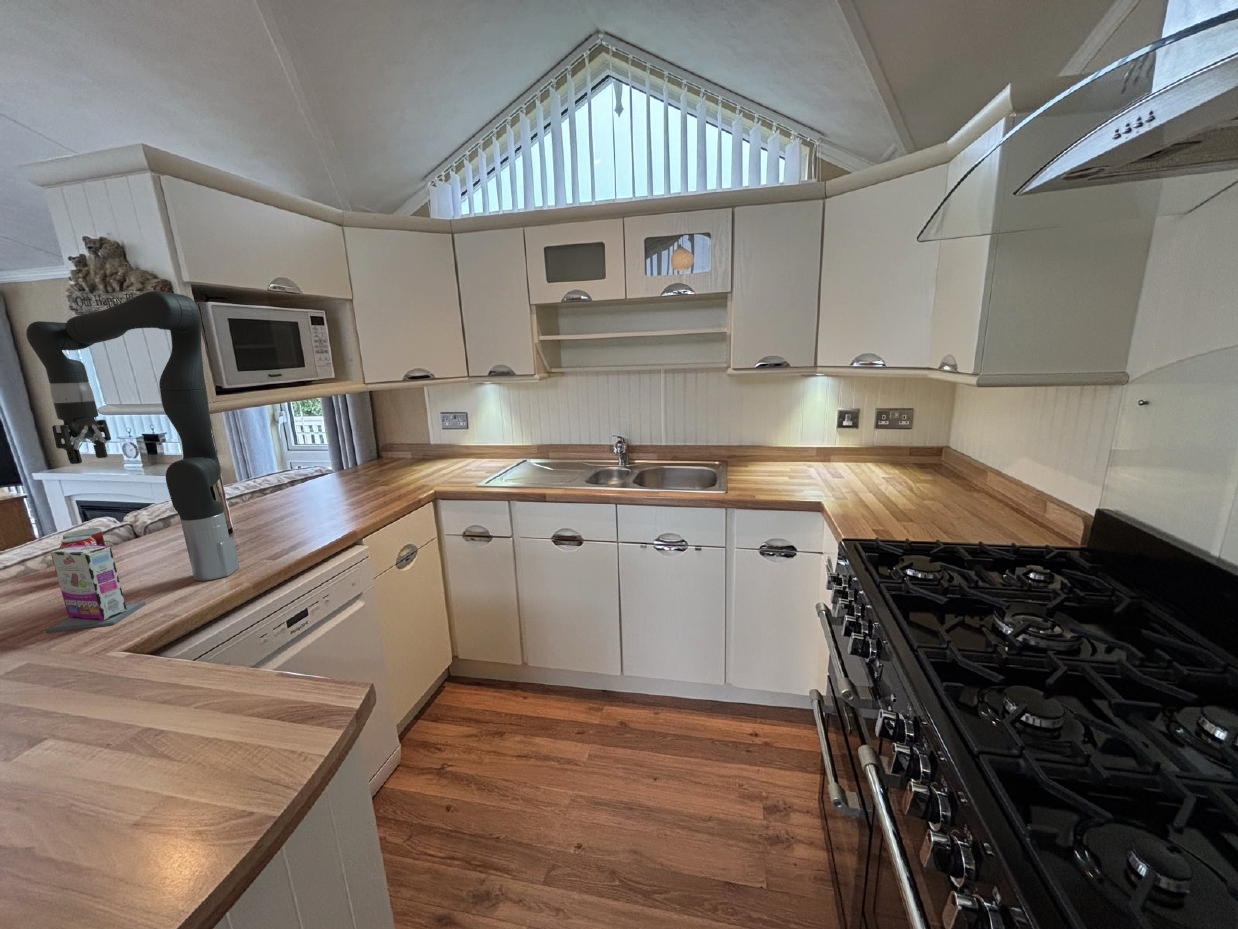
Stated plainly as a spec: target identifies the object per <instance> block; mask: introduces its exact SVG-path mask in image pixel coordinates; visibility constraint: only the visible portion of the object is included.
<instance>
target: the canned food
mask: <svg viewBox="0 0 1238 929" xmlns="http://www.w3.org/2000/svg"><path fill="white" fill-rule="evenodd" d="M79 535H91V537H92V538H93V539H95V540H96V543H97V546H106V543H105V539H104V535H103V531H102V530H101V528H100V527H92V528H91V527H90V528H83V529H79V530H77V529H76V530H75V531H74V530H73V531H70V532H67V533H64V534H63V535H62V540H63V539H66V538H69V537H74V536H79Z"/></svg>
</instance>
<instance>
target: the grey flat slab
mask: <svg viewBox="0 0 1238 929" xmlns="http://www.w3.org/2000/svg"><path fill="white" fill-rule="evenodd" d="M125 604H126V608H127V611H126V612H124V613H121V614H119V615H117V616H114V617H112V618H109V619H107V620H92V619H78V618H69V616H68V617H66V618H65V619H63V620H61V621H59V622H57V623H55V624H53V626H51V627H49V628H46V629H45V630H44V632H45V633H56V632H64V631H65V632H66V631H74V630H80V629H82V630H83V629H88V628H89V629H91V628H97V627H106V626H115V625H117V624H118V623H120V622H121V621H122V620H124V619H125V618H127V617H129V616H130V615H132V614H133V613H135V612H136V611H137V610H139V609H141V608H142V607H144V606H145V605H146V604H147V603H146V601H143V602H133V603H132V602H131V603H125Z"/></svg>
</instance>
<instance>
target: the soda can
mask: <svg viewBox="0 0 1238 929" xmlns="http://www.w3.org/2000/svg"><path fill="white" fill-rule="evenodd" d="M60 542H61V543H60V545H59V546H60V547H59V549H62V548H66V547H70V546H74V545H90V546H97V543H96V540H95V539H93V538H92V537H91V535H79V536H74V537H69V538H66V539H63V538H62V539H61V541H60Z"/></svg>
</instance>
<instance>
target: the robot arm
mask: <svg viewBox="0 0 1238 929" xmlns="http://www.w3.org/2000/svg"><path fill="white" fill-rule="evenodd" d="M201 318H202V316H201V312H200V308H199V306H198V305H197V303H196V301H194V300H193V299H192V298H191V297H190V296H188V295H184V294H179V293H172V292H166V291H160V290H149V291H146V292H144V293H141V294H139V295H137V296H134V297H132V298H130V299H128V300H126V301H123V302H122V303H119V304H117V305H113V306H111V307H108V308H105V309H102V310H98V311H97V310H96V311H93V312H89V313H83V314H79V315H75V316H73V317H71V318H69V319H68V320H67V321H66V322H60V321H59V322H58V321H43V320H42V321H41V320H39V321H34V322H30V324H29V325H28V327H27V328H26V331H25V332H26V334H25V335H26V338H27V341H28V343H29V346H30V347H31V348H32V350H33V352H35V354H36V356H37V357H38V359H39V361H40V362H41V363H42V365H43V366H44V368H45V371H46V375H47V378H48V382H49V388H50V396H51V399H52V403H53V407H54V410H55V414H56V418H57V419H58V420H59V421H63V424H56V425H55V424H54V425H53V424H52V426H51V429H52V432H53V438H54V443H55V446H56V449H58V450H59V449H62V450H64V451H65V452H66V456H67V459H68V462H69V463H70V464H71V465H76V464H77V465H78V464H82V463H83V460H82V456H81V453H80V449H79V447H80V443H82V442H83V441H84V439H87V440H89V441H90V442H92V444H93V449H94V454H95V457H96V458H97V459H105V458H108V451H107V447H106V444H107V442H110V441H112V437H111V434H110V430H109V427H108V424H107V423H108V422H107V421H106V419H95V418H97V417H99V412H98V407H97V404H96V400H95V396H94V395H95V394H94V391H93V389H92V387H91V385H90V382H89V377H88V376H89V375H88V374H87V369H86V367H85V364H84V363H83V362H82V361H80V360H77V359H71V358H69V357H68V356H66V354H65V353H64V352H63V351H79V350H84V349H87V348H89V347H91V346H93V345H94V344H97V343H103V342H107V341H111V340H115V339H118V338H120V337H122V336H123V335H125V334H126V333H127V332H128V331H131V330H135V329H158V330H165V331H169V332H170V338H171V353H170V356H169V358H168V361H167V362H166V365H165V367H164V368H163V370H162V373H161V375H160V377H159V382H158V383H159V384H158V387H159V392H160V399H161V400H160V401H161V404H162V408H163V409H162V410H163V411H164V413H165V415H166V416H167V419H168V420H169V421H170V423H171V424H172V426H173V428H174V429H175V430H176V432H177V434H178V436H179V438H180V442H181V448H182V450H181V451H182V459H180V460H177V461H174V462H172V463H171V464H170V465H169V466H168V467H167V469H166V471H165V482H166V486H167V487H166V488H167V491H168V494H169V497H170V500H171V504H172V507H173V509H174V510H175V511H176V512H177V513H178V515H179V520H180V523H181V529H182V532H183V537H184V541H185V545H186V549H187V553H188V558H189V562H190V566H191V570H192V574H193V578H194V580H195V581H198V582H202V581H203V582H204V581H211V580H216V579H220V578H224V577H229V576H230V575H231V574H233V573H234V572H236V571H237V570H238V569H239V568H240V564H239V559H238V554H237V550H236V544H235V540H234V536H230V533H229V529H228V526H227V525H228V524H227V521H226V516H225V511H224V506H223V503H222V501H219V500H215V499H214V497H213V494H212V491H211V487H213V486H215V485H216V484H217V483H218V482H219V480H220V478H221V474H222V468H221V463H220V460H219V456H218V453H217V449H216V445H215V442H214V436H213V430H212V422H211V416H210V408H209V398H208V397H209V396H208V391H207V385H206V381H205V374H204V373H205V372H204V363H203V354H202V350H203V349H202V319H201ZM62 440H63V441H64V443H63V442H62Z"/></svg>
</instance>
